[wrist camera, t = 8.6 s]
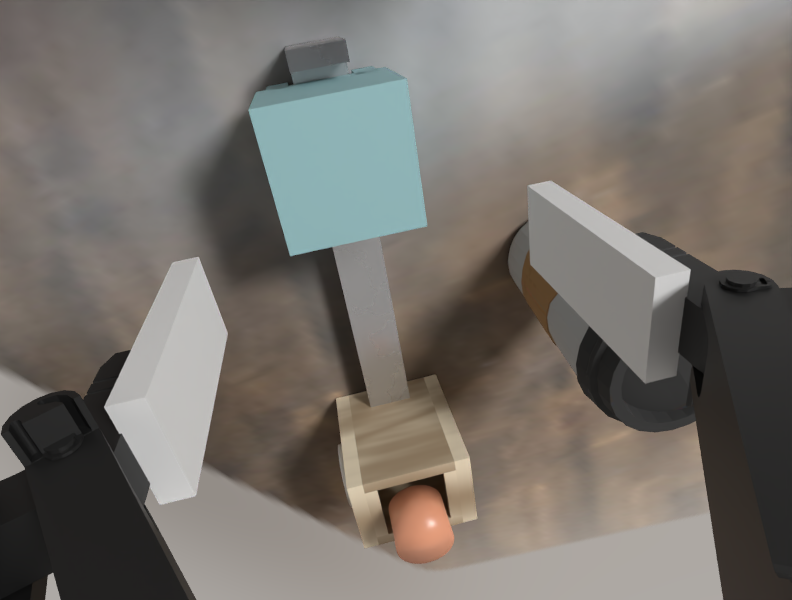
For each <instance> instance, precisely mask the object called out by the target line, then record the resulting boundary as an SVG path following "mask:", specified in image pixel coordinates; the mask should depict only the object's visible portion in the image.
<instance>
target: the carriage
mask: <svg viewBox="0 0 792 600" xmlns="http://www.w3.org/2000/svg"><path fill="white" fill-rule="evenodd" d="M351 72H352V74H347V75H341V76H336V77H331V78H326V79H321V80H316V81H311V82H305V83H300V84H295V85H290V86H289V84H288V82H287V83H282V84H277V85H272V86H267V87H266V90H264V91H259V92H256V93H255V96H254V98H253V100H252V103H251V105H250V107H249V109H248V110H249V114H250V117H251V121H252V124H253V128H254V131H255V135H256V138H257V142H258V145H259V149H260V152H261V156H262V159H263V163H264V166H265V170H266V173H267V177H268V180H269V184H270V187H271V191H272V194H273V198H274V201H275V205H276V208H277V212H278V215H279V219H280V222H281V226H282V229H283V233H284V236H285V240H286V243H287V247H288V250H289V254H290V256H293V255H298V254H302V253H307V252H311V251H316V250H321V249H325V248H330V247H334V246H339V245H343V244H348V243H353V242H357V241H362V240H366V239H371V238H375V237H380V236H385V235H389V234H394V233H398V232H403V231H407V230H412V229H417V228H421V227H426V226H427V221H426V213H425V206H424V199H423V192H422V184H421V177H420V170H419V163H418V156H417V148H416V141H415V134H414V127H413V119H412V112H411V105H410V98H409V91H408V83H407V78H405V77H403V76H401V75H399V74H397V73H396V72H394V71H392V70H390V69H388V68H386V67H383V68H377V69H376V68H374V67H373V66H370V67H365V68H360V69H354V70H351Z"/></svg>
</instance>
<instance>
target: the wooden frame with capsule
mask: <svg viewBox="0 0 792 600" xmlns="http://www.w3.org/2000/svg"><path fill="white" fill-rule="evenodd" d="M407 385H408V390H409V396H410V398H408V399H403V400H399V401H395V402H391V403H387V404H383V405H379V406H375V407H371V406H370V402H369V398H368V393H367V391H365V392H361V393H356V394H352V395H348V396H344V397H340V398H336V403H337V412H338V420H339V428H340V436H341V444H339V445H338V456H339V463H340V469H341V474H342V479H343V484H344V488H345V492H346V496H347V500H348V503H349V505H350V507H352V508H353V511H354V515H355V518H356V521H357V525H358V528H359V531H360V535H361V538H362V541H363V545H364V548H369V547H373V546H376V545H380V544H384V543H388V542H392V541H395V540H394V535H393V530H392V525H391V520H390V515H389V503H390V501H391V499H392V498H393V497H394V496H395V495H396V494H397V493H398V492H399V491H401V490H403V489H405V488H407V487H410V486H414V485H427V486H431V487H433V488H435V489H437V490H438V491H439V493H440V494H441V497H442V500H443V503H444V506H445V510H446V513H447V516H448V519H449V522H450V525H451V526H452V525H456V524H460V523H463V522H467V521H471V520H475V519H477V513H476V505H475V497H474V489H473V481H472V473H471V465H470V457H469V455H468V452H467V450H466V447H465V445H464V443H463V440H462V438H461V435H460V433H459V430H458V428H457V425H456V423H455V420H454V418H453V416H452V413H451V411H450V408H449V406H448V403H447V401H446V398H445V396H444V393H443V391H442V388H441V386H440V384H439V381H438V379H437V376H436V374H435V375H431V376H427V377H423V378H419V379H415V380H410V381H407Z"/></svg>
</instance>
